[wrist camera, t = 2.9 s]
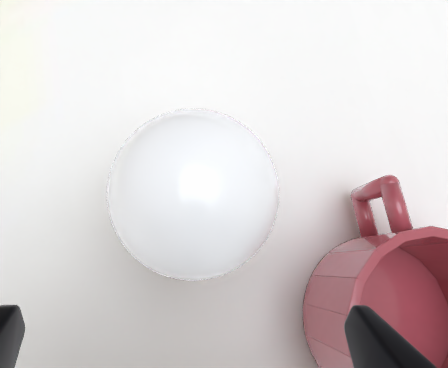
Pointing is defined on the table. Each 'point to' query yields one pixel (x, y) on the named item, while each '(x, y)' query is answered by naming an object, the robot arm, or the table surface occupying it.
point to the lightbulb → (193, 194)
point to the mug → (381, 281)
